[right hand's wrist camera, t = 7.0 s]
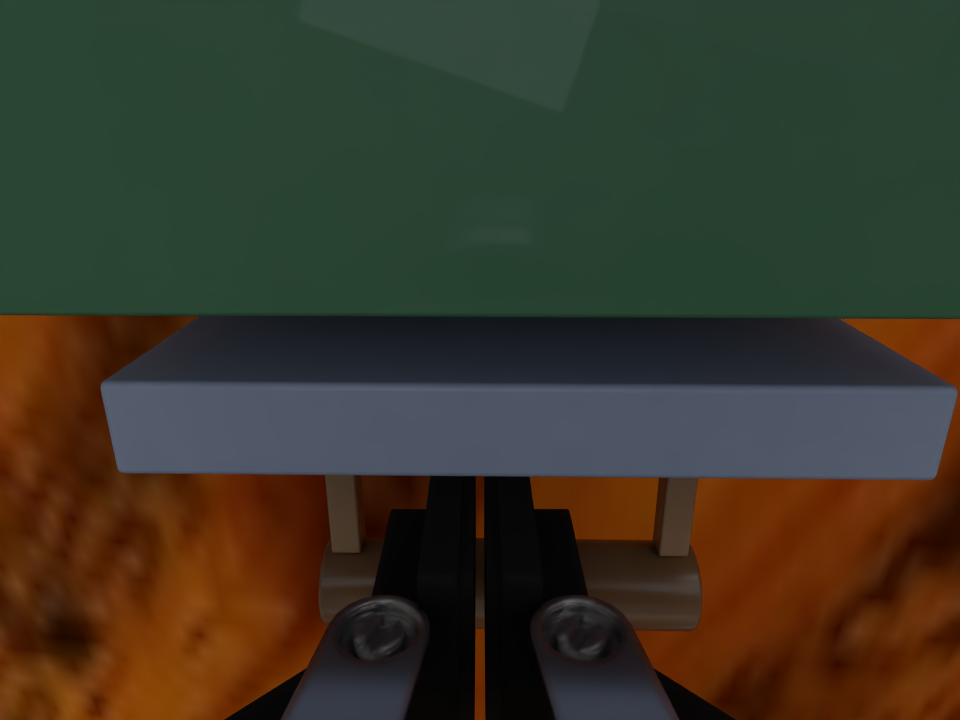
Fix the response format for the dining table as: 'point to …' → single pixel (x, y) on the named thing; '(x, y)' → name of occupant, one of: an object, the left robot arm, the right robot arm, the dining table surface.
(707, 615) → the dining table surface
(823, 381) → the drawer
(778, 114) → the cabinet
